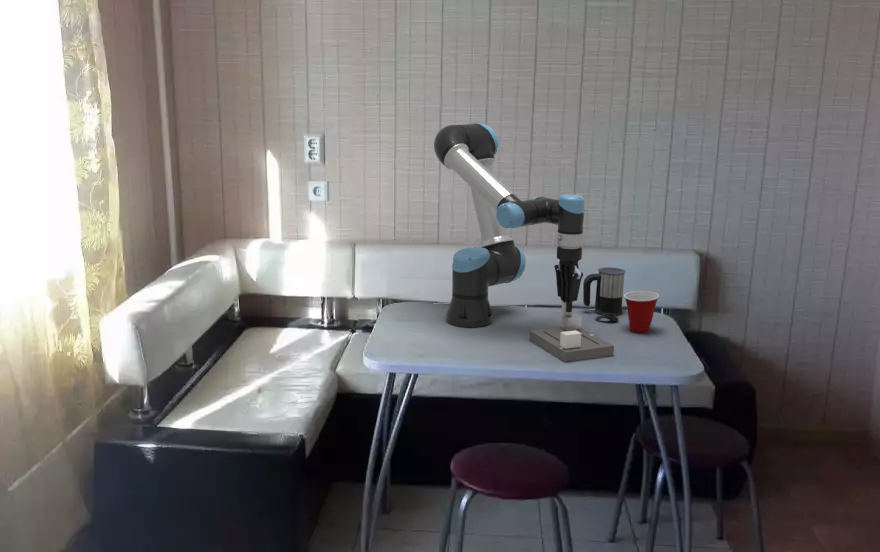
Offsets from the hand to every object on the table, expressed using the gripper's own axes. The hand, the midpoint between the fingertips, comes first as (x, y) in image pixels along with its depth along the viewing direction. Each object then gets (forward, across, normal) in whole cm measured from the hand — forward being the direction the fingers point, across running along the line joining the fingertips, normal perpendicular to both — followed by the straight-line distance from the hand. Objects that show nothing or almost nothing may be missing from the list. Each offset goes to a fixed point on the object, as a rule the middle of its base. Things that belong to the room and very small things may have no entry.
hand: (566, 321), depth 253 cm
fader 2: (+1, +17, -9) cm, 20 cm away
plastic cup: (+5, +4, +24) cm, 25 cm away
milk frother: (+5, -13, +24) cm, 28 cm away
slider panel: (+5, +10, -5) cm, 12 cm away
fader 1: (+1, +3, 0) cm, 4 cm away
